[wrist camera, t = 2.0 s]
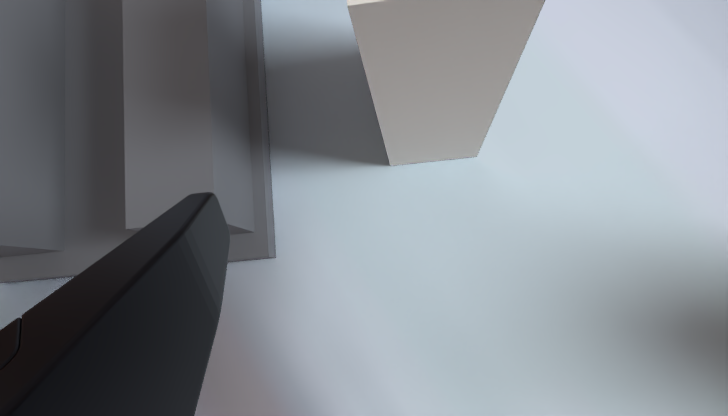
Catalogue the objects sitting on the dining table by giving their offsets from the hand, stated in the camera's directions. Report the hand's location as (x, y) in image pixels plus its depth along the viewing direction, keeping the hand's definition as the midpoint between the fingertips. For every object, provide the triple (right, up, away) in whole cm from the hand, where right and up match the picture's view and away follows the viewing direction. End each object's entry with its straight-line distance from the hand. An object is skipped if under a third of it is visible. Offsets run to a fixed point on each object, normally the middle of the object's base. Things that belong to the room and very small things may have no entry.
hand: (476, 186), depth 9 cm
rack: (-12, +4, +14) cm, 19 cm away
